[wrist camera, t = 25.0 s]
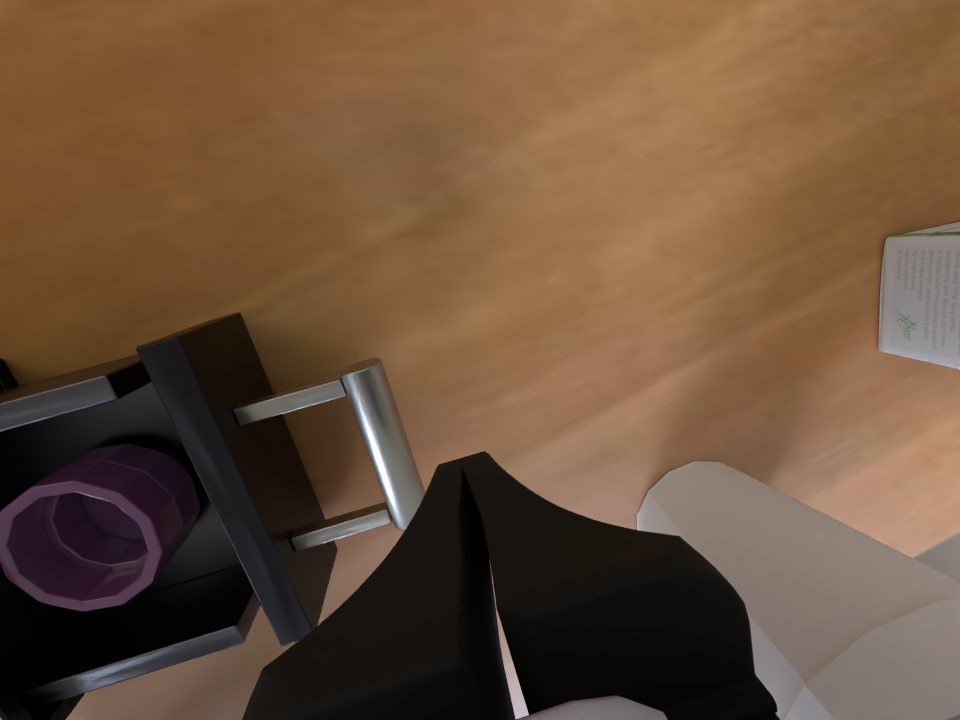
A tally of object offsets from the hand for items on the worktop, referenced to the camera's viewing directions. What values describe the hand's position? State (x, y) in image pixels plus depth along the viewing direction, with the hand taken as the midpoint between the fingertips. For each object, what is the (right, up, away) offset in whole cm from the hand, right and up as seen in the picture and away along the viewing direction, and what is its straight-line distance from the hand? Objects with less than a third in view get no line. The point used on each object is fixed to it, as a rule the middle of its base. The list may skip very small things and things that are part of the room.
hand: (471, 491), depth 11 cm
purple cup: (-13, -2, +6) cm, 14 cm away
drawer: (-11, -1, +7) cm, 13 cm away
